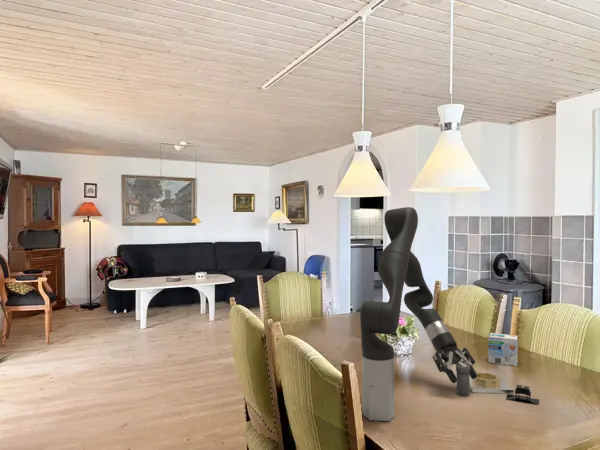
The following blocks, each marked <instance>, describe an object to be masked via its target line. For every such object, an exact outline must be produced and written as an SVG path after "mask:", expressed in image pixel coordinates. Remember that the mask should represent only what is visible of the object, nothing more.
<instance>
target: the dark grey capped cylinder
mask: <svg viewBox="0 0 600 450" xmlns="http://www.w3.org/2000/svg"><path fill="white" fill-rule="evenodd" d="M455 371H456V378H457V380H458V381H457V382H456V394H457V396H461V397H469V396H470V394H471V393H470V392H471V389H470V378H469V373H470V365H469V364H467V363H457V364H455Z"/></svg>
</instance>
